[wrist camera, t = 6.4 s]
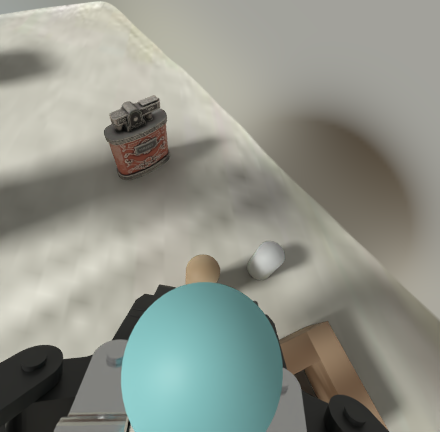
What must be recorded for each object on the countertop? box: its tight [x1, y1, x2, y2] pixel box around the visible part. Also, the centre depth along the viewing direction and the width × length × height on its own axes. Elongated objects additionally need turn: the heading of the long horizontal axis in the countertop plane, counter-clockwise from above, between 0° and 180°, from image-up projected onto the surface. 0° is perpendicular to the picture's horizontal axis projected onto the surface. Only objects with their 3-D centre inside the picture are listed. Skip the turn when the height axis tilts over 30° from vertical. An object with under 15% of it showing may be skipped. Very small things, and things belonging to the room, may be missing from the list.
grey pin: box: [247, 241, 285, 280], centre depth 30 cm, size 3×3×5 cm
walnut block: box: [279, 321, 388, 430], centre depth 23 cm, size 10×10×5 cm
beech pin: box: [186, 255, 220, 285], centre depth 26 cm, size 3×3×8 cm
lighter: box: [104, 95, 170, 180], centre depth 33 cm, size 8×3×10 cm, turn 131°
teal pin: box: [121, 282, 283, 432], centre depth 10 cm, size 3×3×12 cm
